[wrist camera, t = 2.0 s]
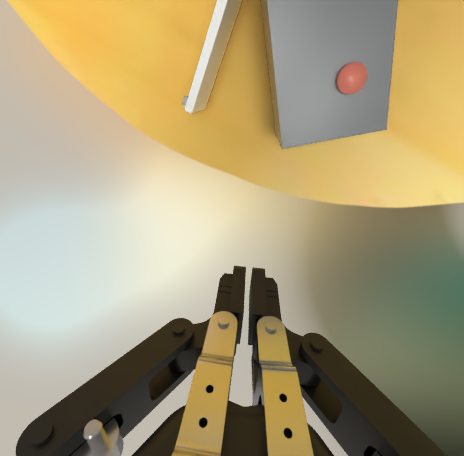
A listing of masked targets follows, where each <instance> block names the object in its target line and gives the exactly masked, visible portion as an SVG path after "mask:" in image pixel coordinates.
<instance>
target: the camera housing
mask: <svg viewBox="0 0 464 456" xmlns="http://www.w3.org/2000/svg"><path fill="white" fill-rule="evenodd" d="M397 6H398V0H261V8H262V16H263V25H264V34H265V43H266V52H267V61H268V70H269V79H270V88H271V97H272V106H273V115H274V124H275V133H276V137H277V139H278V141H279V143H280V145H281V147H282V149H285V148H290V147H296V146H301V145H306V144H312V143H317V142H322V141H328V140H333V139H338V138H344V137H349V136H354V135H360V134H365V133H370V132H376V131H381V130H386V129H387V119H388V107H389V96H390V85H391V74H392V62H393V51H394V40H395V28H396V17H397Z"/></svg>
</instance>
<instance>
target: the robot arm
mask: <svg viewBox="0 0 464 456" xmlns="http://www.w3.org/2000/svg"><path fill="white" fill-rule="evenodd" d="M245 272H246V267H241V266H234V270H233V274H226V273H225V274H224V275H223V276H222V277H221V278H220V282H219V287H218V293H217V299H216V304H215V309H214V313H213V316H212V317H211V318H210V319H208V320H207V321H205V322H202V323H198V324H192V323H191V321H189V320H187V319H184V318H177V319H174V320H172V321H170V322H169V323H168V324H166V325H165V326H164V327H162V328H161V329H160V330H158V331H157V332H155V333H154V334H153V335H151V336H150V337H148V338H147V339H146V340H144V341H143V342H141V343H140V344H139V345H137V346H136V347H135V348H133V349H132V350H130V351H129V352H127V353H126V354H125V355H124V356H122V357H121V358H119V359H118V360H117V361H115V362H114V363H112V364H111V365H110V366H108V367H107V368H105V369H104V370H103V371H101V372H100V373H98V374H97V375H96V376H94V377H93V378H92V379H90V380H89V381H87V382H86V383H85V384H83V385H82V386H80V387H79V388H78V389H76V390H75V391H74V392H72V393H71V394H69V395H68V396H67V397H65V398H64V399H63V400H61V401H60V402H58V403H57V404H56V405H54V406H53V407H51V408H50V409H49V410H47V411H46V412H45V413H43V414H42V415H40V416H39V417H38V418H36V419H35V420H34V421H33V422H31V423H30V424H29V425H28V426H27V428H26V429H25V430H24V431H23V433H22V434H21V436H20V438H19V440H18V443H17V446H16V456H121V454H122V450H123V438H124V437H125V436H126V435H127V434H128V433H129V432H130V431H131V430H132V429H133V428H134V427H135V426H136V425H137V424H138V423H140V422H141V421H142V420H143V419H144V418H145V417H146V416H147V415H148V414H149V413H150V412H151V411H152V410H153V409H154V408H155V407H156V406H157V405H158V404H159V403H160V402H161V401H162V400H163V399H164V398H166V396H168V395H169V394H170V393H171V392H172V391H173V390H174V389H175V388H176V387H177V386H178V385H179V384H180V383H181V382H182V381H183V380H184V379H185V378H186V377H187V376H188V375H189V374H190V373H191V372H192V371H193V370H194V369H195V372H194V376H193V380H192V384H191V388H190V392H189V396H188V400H187V404H186V405H185V406H183V407H181V408H179V409H178V410H176V411H175V412H174V413H173V414H171V415H170V416H169V417H168V418H167V419H166V420H165V421H164V422H163V423H162V425H161V426H160V427H159V428H158V429H157V430H156V431H155V432H154V433H153V434H152V435H151V436H150V437H149V438H148V439H147V440H146V441H145V442H144V443H143V444H142V445H141V446H140V448H139V449H138V450H137V451H136V452H135V453H134V454H133V455H132V456H334V455H333V454H332V452H331V451H330V450H329V448H328V447H327V446H326V444H325V443H324V441H323V440H322V439H321V437H320V436H319V435H318V433H317V432H316V431H315V430H314V429H313V428H312V427H311V426H310V425H309V424H308V423H307V419H306V414H305V409H304V404H303V400H302V397H303V398H304V399H305V400H306V402H307V403H308V404H309V405H310V407H311V408H312V409H313V411H314V412H315V413H316V415H317V416H318V417H319V419H320V420H321V421H322V422H323V424H324V425H325V426H326V428H327V429H328V430H329V431H330V433H331V434H332V435H333V436H334V438H335V439H336V440H337V442H338V443H339V444H340V445H341V447H342V448H343V449H344V451H345V452H346V453H347V454H348V456H447V455H446V454H445V453H444V452H443V451H442V450H441V449H440V448H439V447H438V446H437V445H436V444H435V443H434V442H433V441H432V440H431V439H430V438H429V437H428V436H427V435H426V434H425V433H423V432H422V431H421V430H420V429H419V428H418V427H417V426H416V425H415V424H414V423H413V422H412V421H411V420H410V419H409V418H408V417H407V416H406V415H405V414H404V413H403V412H402V411H401V410H399V408H397V406H395V405H394V404H393V403H392V402H391V401H390V400H389V399H388V398H387V397H386V396H385V395H384V394H383V393H382V392H381V391H380V390H379V389H378V388H377V387H376V386H375V385H374V384H373V383H371V382H370V380H368V379H367V378H366V377H365V376H364V375H363V374H362V373H361V372H360V371H359V370H358V369H357V368H356V367H355V366H354V365H353V364H352V363H351V362H350V361H349V360H348V359H347V358H346V357H345V356H343V354H341V353H340V352H339V351H338V350H337V349H336V348H335V347H334V346H333V345H332V344H331V343H330V342H329V341H328V340H327V339H326V338H324V337H323V336H321V335H320V334H317V333H308V334H306V335H304V336H300V335H297V334H295V333H293V332H291V331H290V330H288V329H287V328H286V327H285V326H284V324H283V323H282V320H281V314H280V305H279V298H278V297H279V296H278V288H277V284H276V282H275V281H274V279H273V278H266V277H265V269H262V268H253V269H252V276H251V285H250V295H249V333H248V345H253V353H252V360H251V361H252V387H253V388H252V390H253V404H252V406H249V407H243V406H240V405H238V404H235V403H233V402H231V401H229V393H230V385H231V377H232V369H233V361H234V356H235V353H236V345H237V344H240V338H241V330H242V321H243V313H244V293H245Z"/></svg>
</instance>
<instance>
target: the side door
mask: <svg viewBox="0 0 464 456" xmlns="http://www.w3.org/2000/svg"><path fill="white" fill-rule="evenodd" d="M241 3H242V0H217V3H216V6H215V10H214V13H213V16H212V20H211V23H210V26H209V30H208V33H207V36H206V40H205V43H204V46H203V50H202V53H201V56H200V60H199V63H198V66H197V70H196V73H195V76H194V80H193V83H192V86H191V89H190V93H189V96H184V99H183V103H182V104H183V105H185V109H184V110H185V111H187V112H189V113H191V114H192V113H195V112H198V111H201V110H204V109H205V108H206V106H207V103H208V100H209V97H210V94H211V91H212V88H213V85H214V82H215V79H216V76H217V73H218V70H219V67H220V64H221V61H222V58H223V56H224V53H225V50H226V47H227V44H228V41H229V38H230V35H231V32H232V29H233V26H234V23H235V20H236V17H237V14H238V11H239V8H240V6H241Z"/></svg>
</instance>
